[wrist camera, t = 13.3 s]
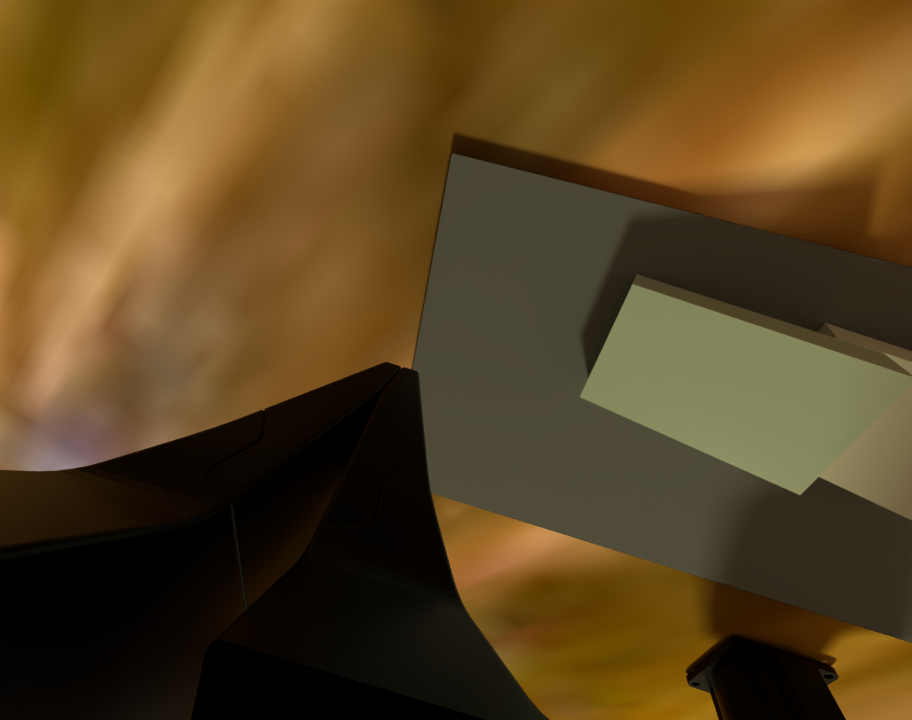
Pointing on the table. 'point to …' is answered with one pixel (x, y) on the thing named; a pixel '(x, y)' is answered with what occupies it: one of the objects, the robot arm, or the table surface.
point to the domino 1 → (740, 383)
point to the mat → (616, 437)
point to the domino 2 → (879, 441)
